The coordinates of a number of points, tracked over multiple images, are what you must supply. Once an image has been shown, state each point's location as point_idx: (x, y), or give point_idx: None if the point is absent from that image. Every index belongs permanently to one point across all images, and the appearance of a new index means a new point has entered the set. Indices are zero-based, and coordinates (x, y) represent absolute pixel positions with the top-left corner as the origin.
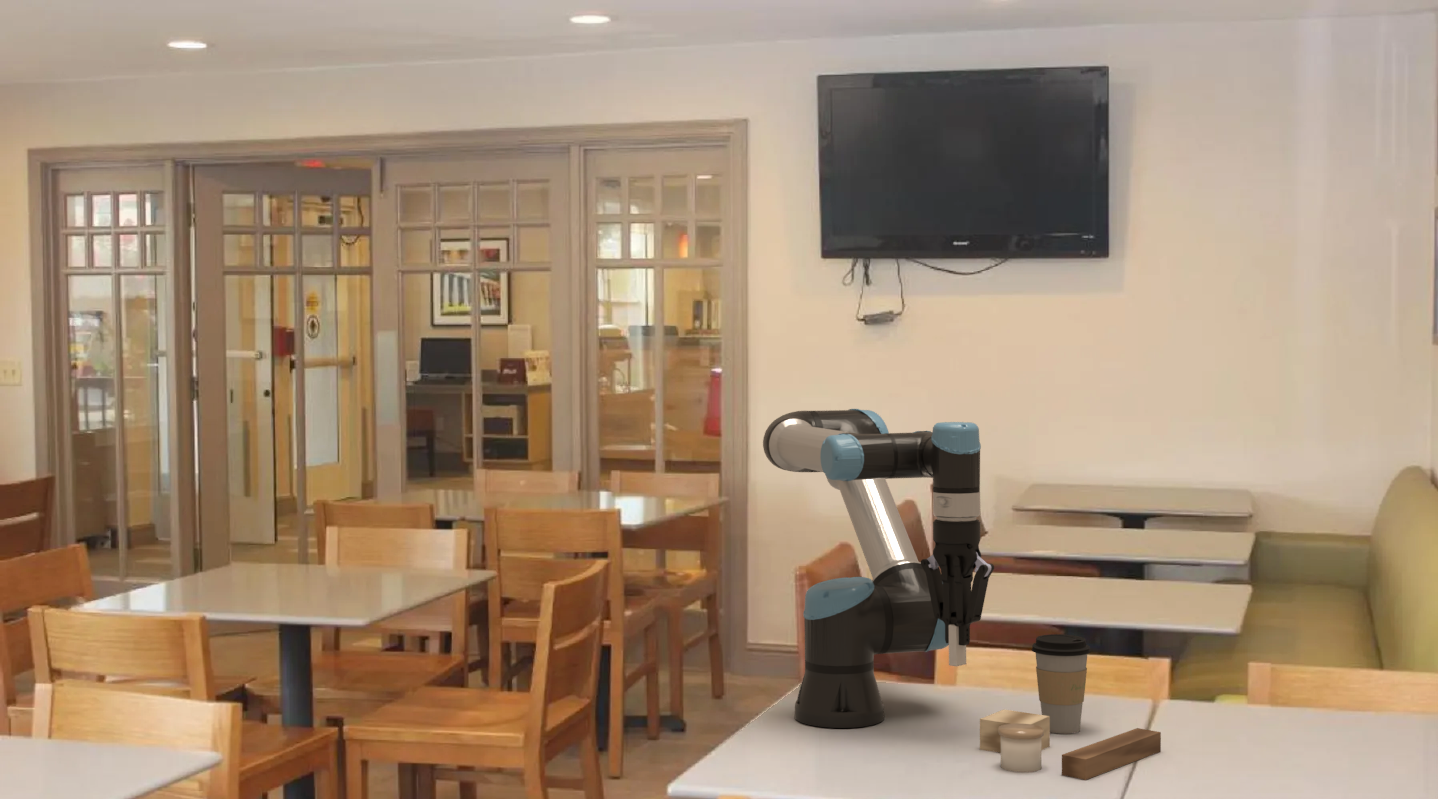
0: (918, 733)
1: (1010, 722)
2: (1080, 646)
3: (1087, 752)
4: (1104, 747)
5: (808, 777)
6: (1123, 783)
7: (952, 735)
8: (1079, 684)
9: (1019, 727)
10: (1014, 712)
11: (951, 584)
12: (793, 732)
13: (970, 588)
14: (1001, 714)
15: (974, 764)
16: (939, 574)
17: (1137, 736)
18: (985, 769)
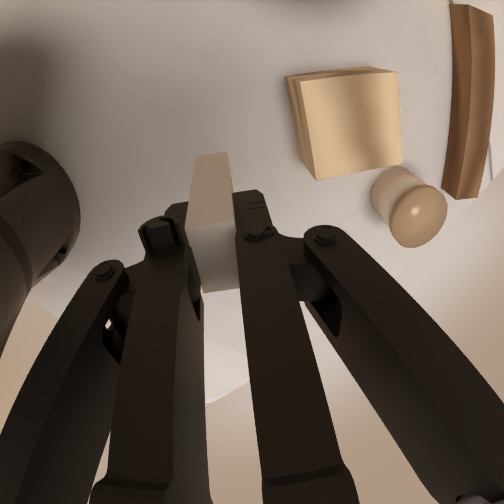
0: (153, 164)
1: (371, 161)
2: None
3: (473, 170)
4: (481, 134)
5: (244, 359)
6: (488, 169)
7: (200, 126)
8: None
9: (417, 215)
10: (333, 89)
11: (200, 477)
12: (71, 290)
13: (326, 412)
14: (324, 122)
15: (343, 225)
16: (32, 495)
17: (487, 53)
18: (365, 231)
